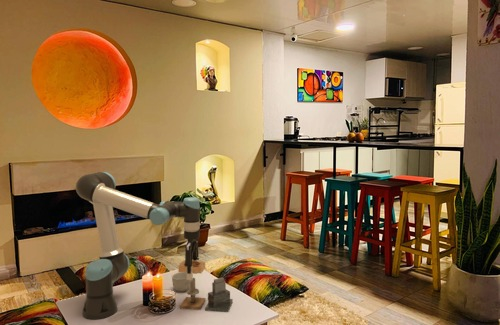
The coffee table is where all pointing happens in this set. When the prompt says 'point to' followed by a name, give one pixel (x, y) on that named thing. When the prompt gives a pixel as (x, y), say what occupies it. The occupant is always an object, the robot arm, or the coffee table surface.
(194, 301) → the stand
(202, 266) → the brown wooden block
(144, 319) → the coffee table surface
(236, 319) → the coffee table surface
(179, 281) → the teacup
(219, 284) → the grey stepped block
